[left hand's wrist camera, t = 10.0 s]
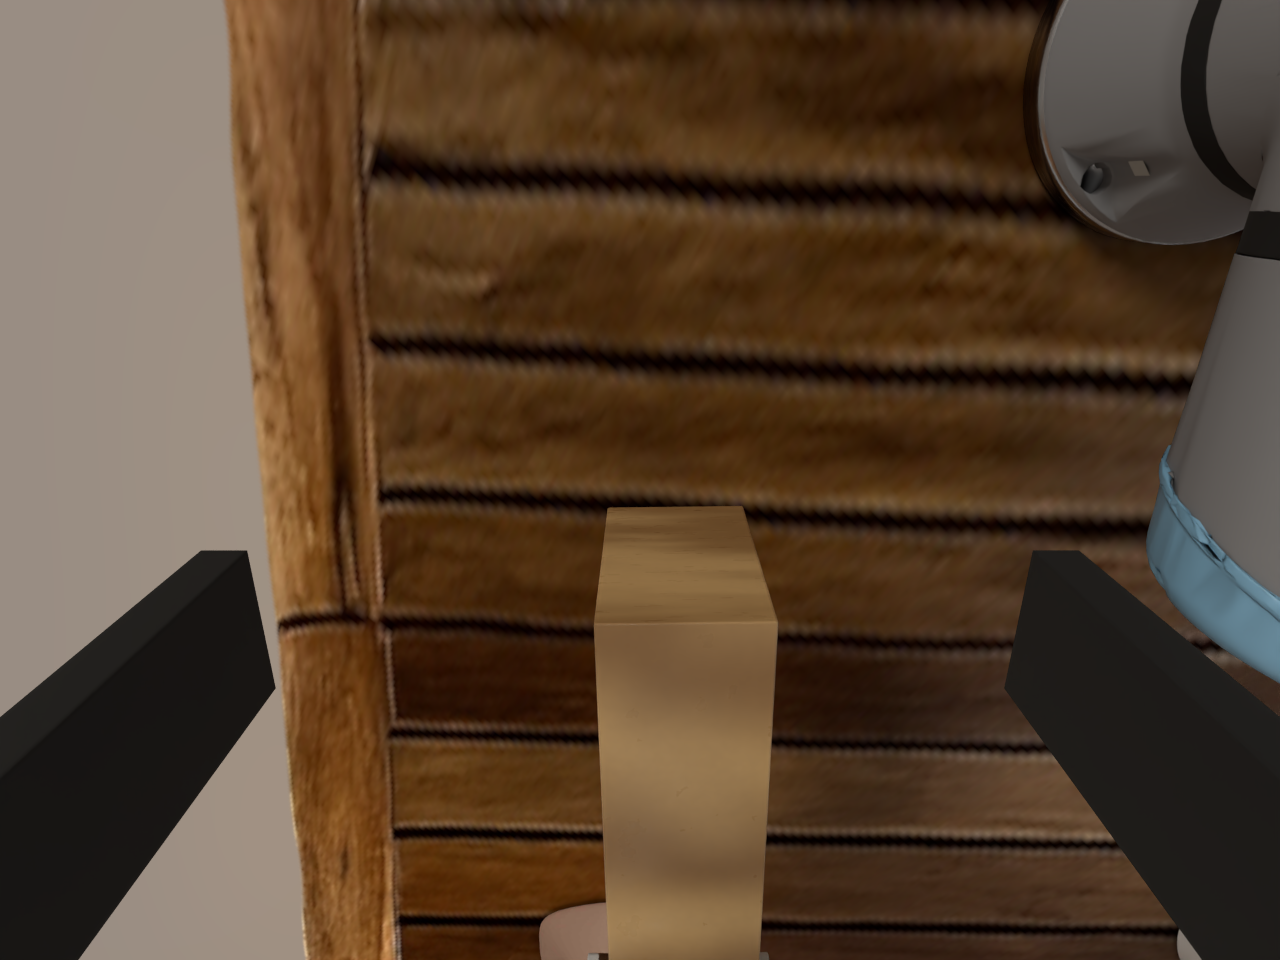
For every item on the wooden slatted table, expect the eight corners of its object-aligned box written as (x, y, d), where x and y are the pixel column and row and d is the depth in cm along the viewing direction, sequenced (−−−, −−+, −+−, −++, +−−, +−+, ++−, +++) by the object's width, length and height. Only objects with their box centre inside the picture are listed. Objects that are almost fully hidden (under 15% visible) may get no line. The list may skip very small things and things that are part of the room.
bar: (607, 507, 29) (593, 623, 21) (742, 505, 29) (778, 621, 21) (623, 970, 38) (618, 1172, 30) (726, 970, 38) (748, 1172, 30)
